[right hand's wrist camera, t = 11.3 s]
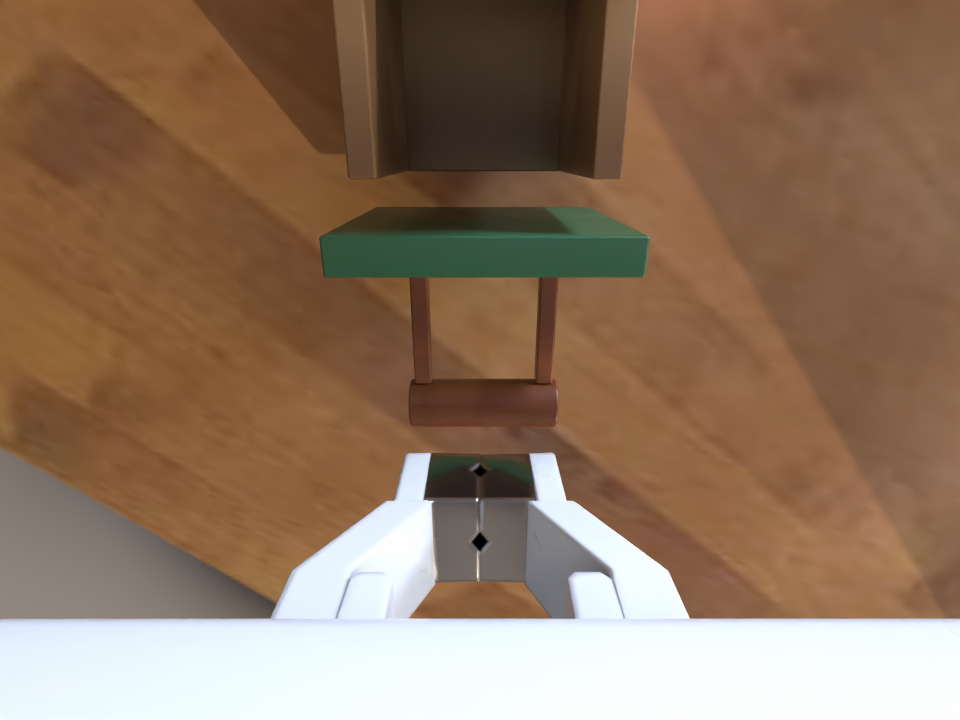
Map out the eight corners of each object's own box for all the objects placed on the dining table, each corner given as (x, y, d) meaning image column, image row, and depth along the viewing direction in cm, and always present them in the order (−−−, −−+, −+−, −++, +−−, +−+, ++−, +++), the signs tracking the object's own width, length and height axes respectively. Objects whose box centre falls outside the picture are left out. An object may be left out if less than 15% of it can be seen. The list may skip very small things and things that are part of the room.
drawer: (578, 363, 25) (623, 459, 17) (386, 363, 25) (344, 459, 17) (633, -349, 16) (781, -834, 8) (334, -349, 16) (193, -832, 8)
